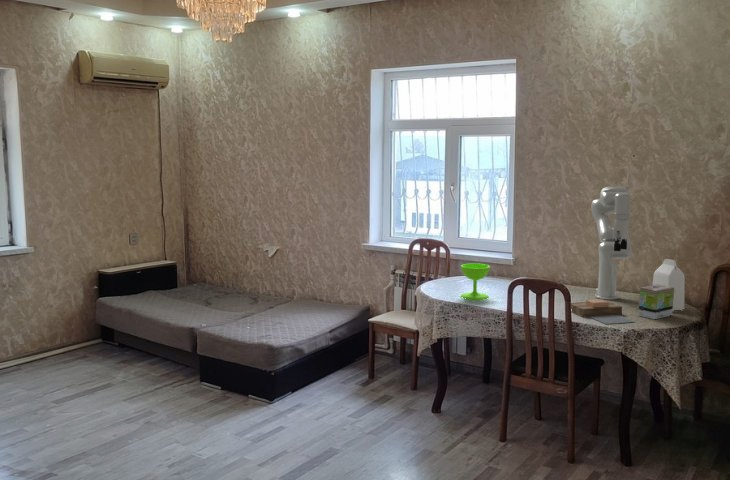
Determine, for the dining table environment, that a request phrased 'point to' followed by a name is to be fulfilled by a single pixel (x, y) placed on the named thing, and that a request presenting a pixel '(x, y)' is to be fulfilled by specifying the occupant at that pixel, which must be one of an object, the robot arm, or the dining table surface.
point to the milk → (671, 281)
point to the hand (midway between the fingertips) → (620, 250)
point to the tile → (597, 303)
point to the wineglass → (475, 279)
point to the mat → (611, 319)
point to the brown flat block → (595, 310)
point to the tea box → (656, 301)
